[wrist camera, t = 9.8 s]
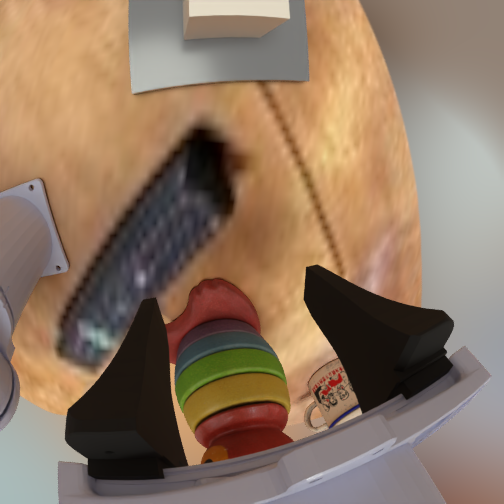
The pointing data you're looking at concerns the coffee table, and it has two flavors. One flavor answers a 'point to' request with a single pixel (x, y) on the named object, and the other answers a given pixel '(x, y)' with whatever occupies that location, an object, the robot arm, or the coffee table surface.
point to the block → (232, 18)
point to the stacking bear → (227, 374)
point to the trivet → (210, 50)
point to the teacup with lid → (332, 397)
